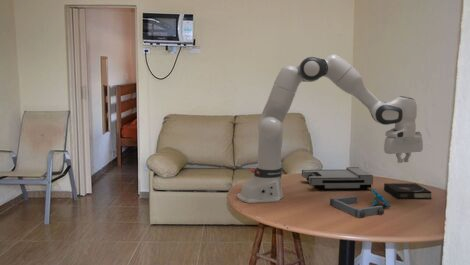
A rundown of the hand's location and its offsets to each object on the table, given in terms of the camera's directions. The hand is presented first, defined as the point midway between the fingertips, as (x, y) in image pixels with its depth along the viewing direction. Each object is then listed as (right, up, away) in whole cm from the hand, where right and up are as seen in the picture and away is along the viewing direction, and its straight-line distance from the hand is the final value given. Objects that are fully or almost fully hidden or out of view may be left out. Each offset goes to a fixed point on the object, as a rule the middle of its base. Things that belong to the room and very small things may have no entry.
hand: (402, 162), depth 195 cm
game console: (-23, -15, +32) cm, 43 cm away
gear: (-11, -20, -2) cm, 23 cm away
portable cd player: (+9, -18, +17) cm, 26 cm away
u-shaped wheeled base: (-23, -20, -8) cm, 31 cm away
